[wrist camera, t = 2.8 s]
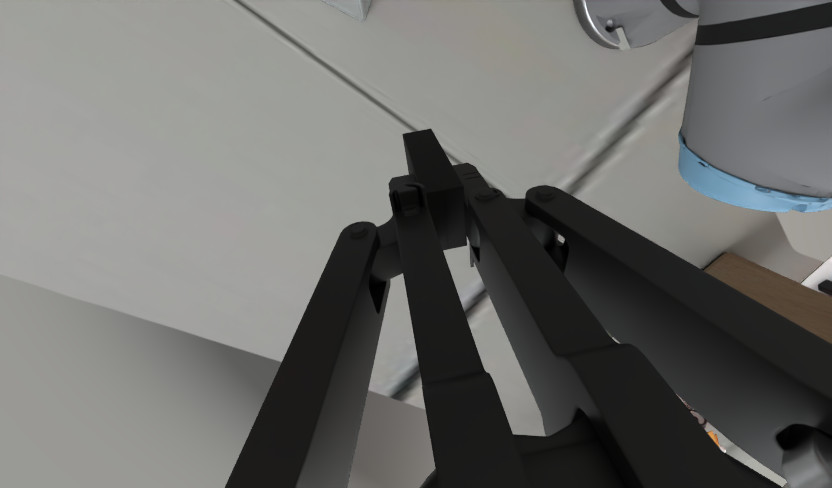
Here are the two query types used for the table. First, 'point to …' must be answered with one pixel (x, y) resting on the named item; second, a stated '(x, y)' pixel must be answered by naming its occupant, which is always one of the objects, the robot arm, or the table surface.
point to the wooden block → (776, 293)
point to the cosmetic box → (352, 7)
